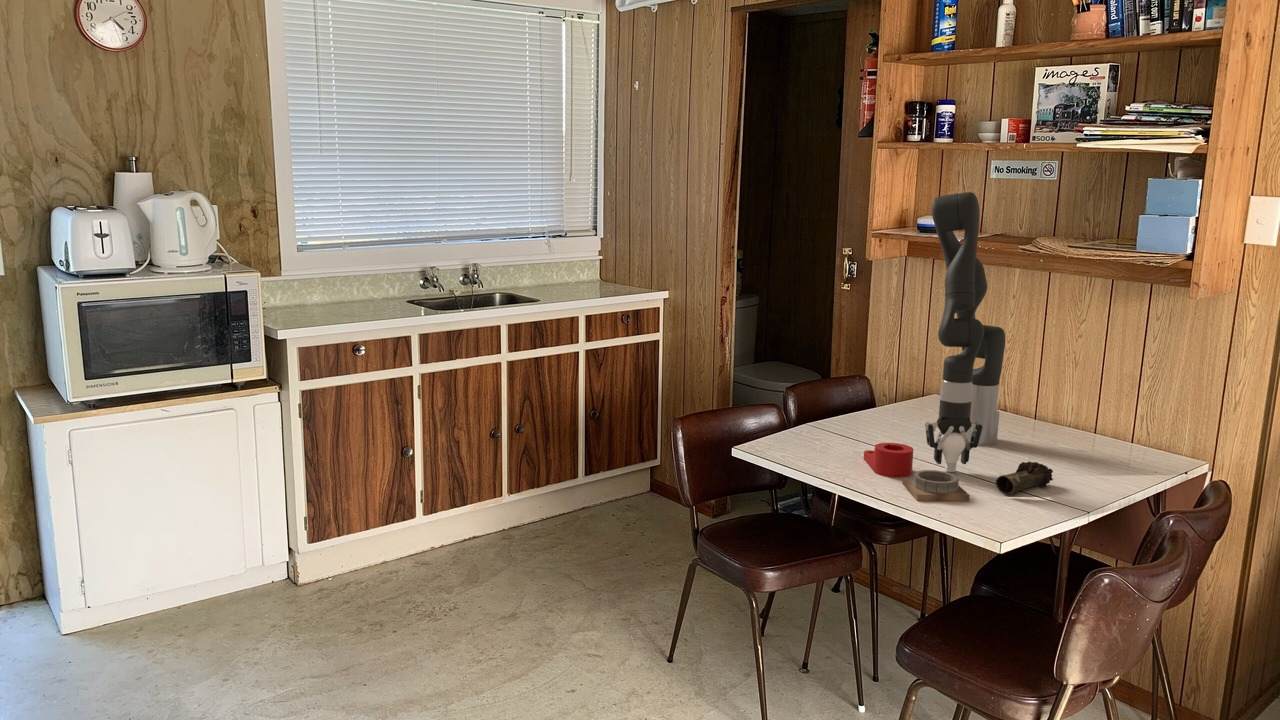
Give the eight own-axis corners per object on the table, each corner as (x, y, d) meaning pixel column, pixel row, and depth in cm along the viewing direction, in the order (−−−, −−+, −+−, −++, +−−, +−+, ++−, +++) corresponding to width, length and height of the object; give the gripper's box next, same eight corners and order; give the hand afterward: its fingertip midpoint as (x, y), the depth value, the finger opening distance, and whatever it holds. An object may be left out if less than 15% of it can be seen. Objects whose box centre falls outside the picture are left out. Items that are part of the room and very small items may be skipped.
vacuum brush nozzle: (1012, 497, 224) (1015, 474, 223) (987, 488, 230) (990, 466, 229) (1055, 486, 234) (1059, 464, 233) (1030, 479, 240) (1034, 457, 239)
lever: (918, 477, 241) (920, 451, 239) (884, 479, 238) (886, 453, 237) (883, 457, 258) (884, 433, 256) (851, 459, 255) (852, 435, 254)
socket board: (951, 484, 235) (952, 469, 234) (968, 501, 223) (970, 484, 222) (902, 484, 234) (903, 468, 234) (917, 500, 223) (918, 484, 222)
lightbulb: (966, 476, 240) (970, 434, 238) (941, 476, 240) (944, 433, 238) (958, 469, 247) (961, 427, 244) (934, 468, 247) (936, 427, 245)
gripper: (979, 394, 244) (973, 459, 247) (922, 394, 243) (917, 458, 246) (990, 401, 236) (984, 468, 239) (931, 401, 236) (927, 467, 239)
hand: (950, 463), depth 243 cm, fingers closed on lightbulb, 5 cm apart
